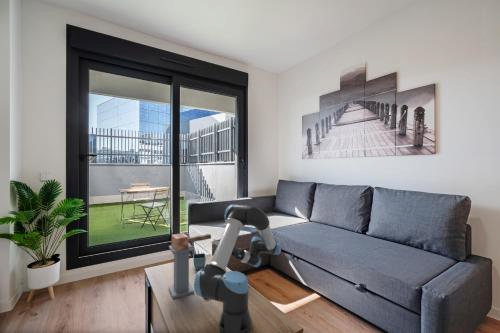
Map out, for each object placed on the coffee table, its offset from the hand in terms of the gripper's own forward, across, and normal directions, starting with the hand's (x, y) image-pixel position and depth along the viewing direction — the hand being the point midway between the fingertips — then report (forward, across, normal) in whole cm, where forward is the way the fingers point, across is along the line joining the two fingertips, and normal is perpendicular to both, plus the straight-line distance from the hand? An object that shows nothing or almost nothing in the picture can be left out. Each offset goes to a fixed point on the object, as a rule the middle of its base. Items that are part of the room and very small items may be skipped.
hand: (216, 244), depth 147 cm
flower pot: (-9, +25, -23) cm, 35 cm away
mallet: (+14, 0, -6) cm, 15 cm away
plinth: (+7, 0, -32) cm, 33 cm away
